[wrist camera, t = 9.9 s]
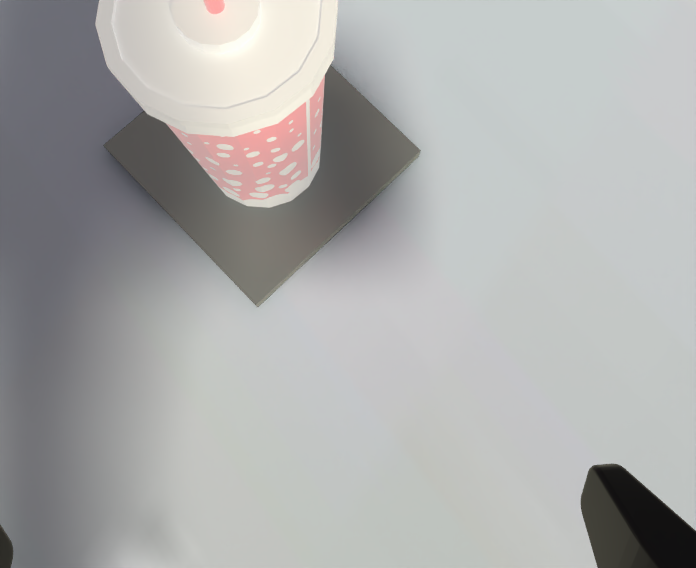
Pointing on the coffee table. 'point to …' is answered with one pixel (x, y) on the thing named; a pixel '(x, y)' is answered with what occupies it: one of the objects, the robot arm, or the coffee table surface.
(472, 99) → the coffee table surface
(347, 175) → the coaster
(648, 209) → the coffee table surface
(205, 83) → the beverage cup
